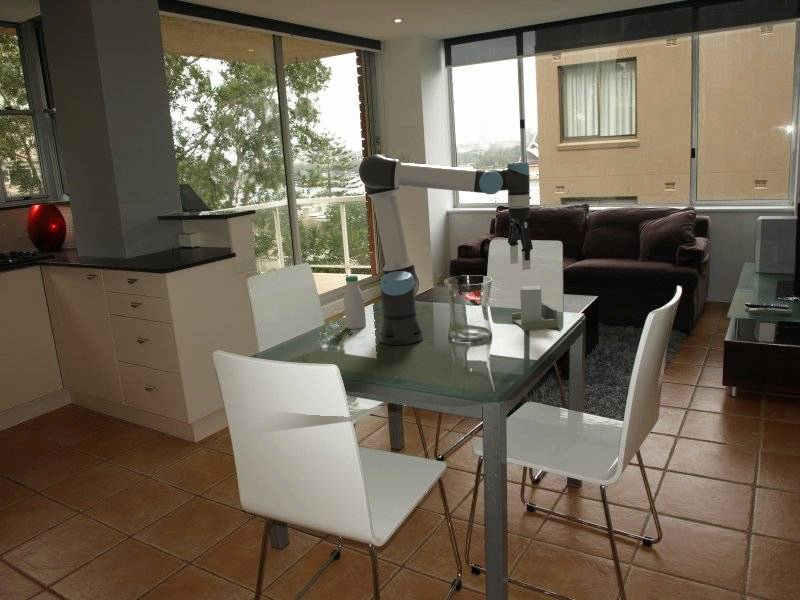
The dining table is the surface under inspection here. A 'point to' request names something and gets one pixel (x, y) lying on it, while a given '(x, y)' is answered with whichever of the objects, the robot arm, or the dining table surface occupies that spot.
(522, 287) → the supplement box
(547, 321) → the chute mount
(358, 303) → the milk bottle
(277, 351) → the dining table surface
